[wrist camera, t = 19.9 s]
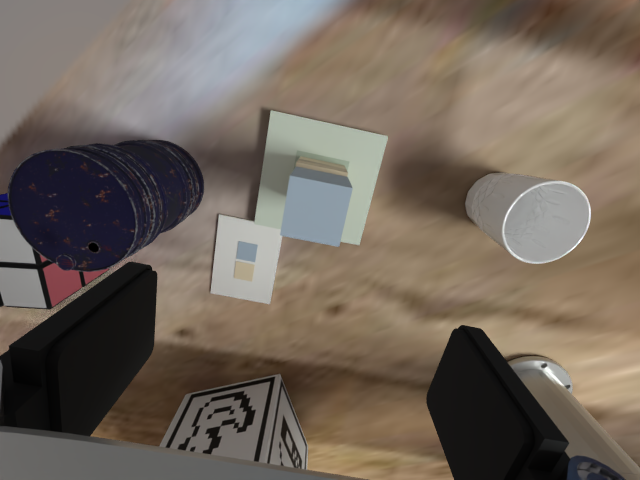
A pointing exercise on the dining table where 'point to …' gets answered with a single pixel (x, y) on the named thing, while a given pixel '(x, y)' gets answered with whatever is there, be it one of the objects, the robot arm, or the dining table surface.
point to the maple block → (322, 166)
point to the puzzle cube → (32, 271)
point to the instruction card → (245, 259)
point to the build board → (326, 145)
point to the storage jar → (102, 200)
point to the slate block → (316, 206)
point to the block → (241, 424)
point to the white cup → (529, 214)
